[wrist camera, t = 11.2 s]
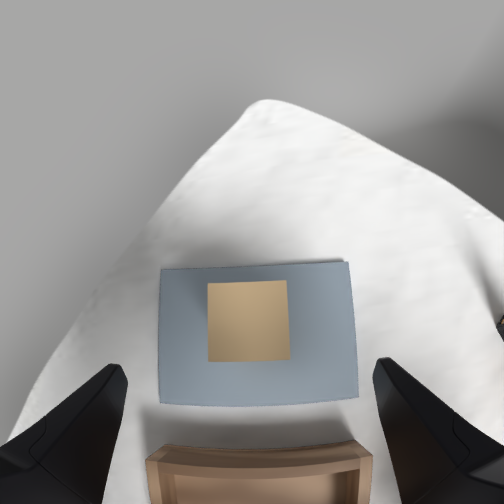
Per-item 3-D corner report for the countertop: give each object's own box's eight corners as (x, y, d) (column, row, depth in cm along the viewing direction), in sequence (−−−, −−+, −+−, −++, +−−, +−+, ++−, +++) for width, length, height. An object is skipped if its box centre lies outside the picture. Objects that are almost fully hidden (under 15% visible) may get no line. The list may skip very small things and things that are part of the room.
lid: (354, 395, 19) (416, 420, 10) (164, 401, 20) (94, 426, 10) (345, 265, 22) (392, 203, 13) (165, 273, 23) (104, 218, 14)
